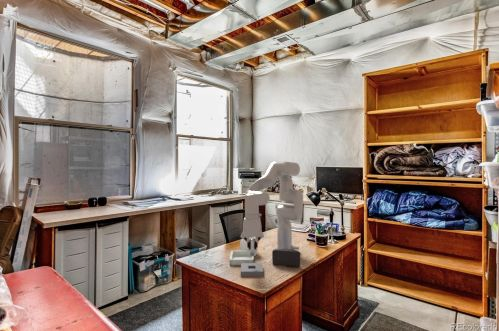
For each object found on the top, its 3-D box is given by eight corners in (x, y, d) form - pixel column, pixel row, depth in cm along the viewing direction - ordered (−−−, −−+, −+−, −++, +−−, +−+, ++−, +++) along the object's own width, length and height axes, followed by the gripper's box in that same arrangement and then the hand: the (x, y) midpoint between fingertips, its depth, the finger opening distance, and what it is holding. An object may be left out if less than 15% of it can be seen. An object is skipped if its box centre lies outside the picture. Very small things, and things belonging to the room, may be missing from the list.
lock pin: (255, 254, 156) (255, 238, 155) (255, 256, 153) (255, 240, 152) (249, 254, 156) (249, 238, 155) (249, 256, 153) (249, 240, 152)
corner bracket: (255, 255, 180) (255, 237, 180) (238, 254, 183) (238, 236, 182) (258, 250, 191) (258, 232, 190) (242, 249, 193) (242, 232, 193)
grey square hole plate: (262, 268, 160) (262, 263, 160) (263, 277, 148) (263, 271, 148) (241, 268, 160) (241, 262, 160) (240, 277, 148) (240, 271, 148)
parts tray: (253, 256, 179) (253, 250, 179) (253, 266, 163) (253, 259, 163) (231, 256, 179) (231, 250, 179) (229, 266, 163) (229, 259, 163)
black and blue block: (300, 265, 164) (300, 249, 164) (300, 268, 160) (300, 251, 160) (273, 262, 168) (273, 247, 168) (272, 265, 163) (272, 249, 163)
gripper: (266, 214, 157) (266, 246, 158) (237, 214, 157) (238, 246, 158) (267, 217, 149) (267, 251, 150) (236, 217, 149) (237, 251, 150)
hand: (252, 248), depth 154 cm, fingers closed on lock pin, 3 cm apart
